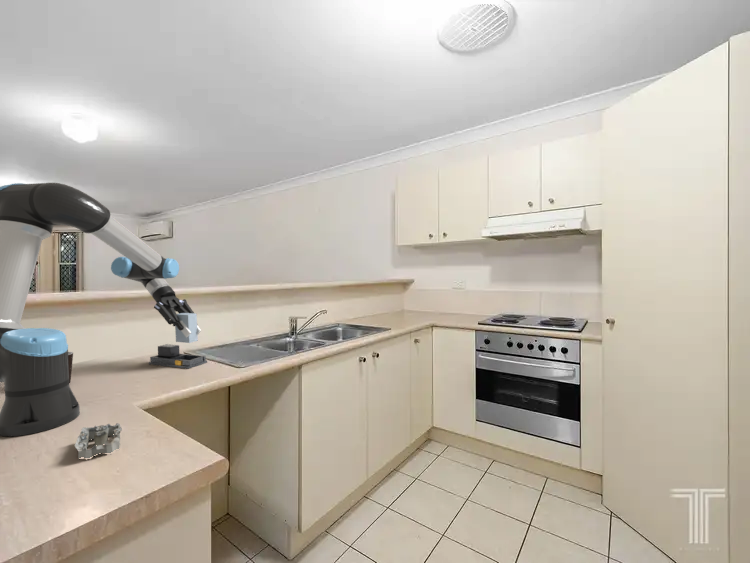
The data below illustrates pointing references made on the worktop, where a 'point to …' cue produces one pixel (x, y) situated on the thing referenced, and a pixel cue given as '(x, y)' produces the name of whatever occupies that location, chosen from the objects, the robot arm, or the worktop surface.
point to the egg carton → (98, 440)
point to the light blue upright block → (191, 324)
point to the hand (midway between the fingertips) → (193, 333)
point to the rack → (175, 358)
